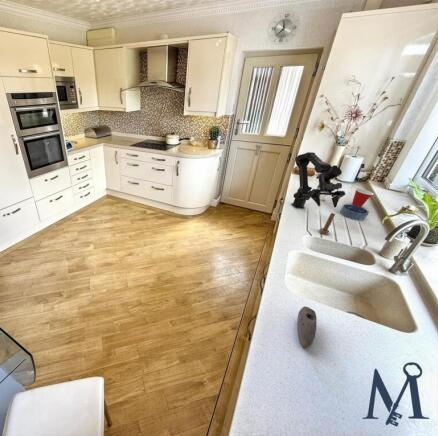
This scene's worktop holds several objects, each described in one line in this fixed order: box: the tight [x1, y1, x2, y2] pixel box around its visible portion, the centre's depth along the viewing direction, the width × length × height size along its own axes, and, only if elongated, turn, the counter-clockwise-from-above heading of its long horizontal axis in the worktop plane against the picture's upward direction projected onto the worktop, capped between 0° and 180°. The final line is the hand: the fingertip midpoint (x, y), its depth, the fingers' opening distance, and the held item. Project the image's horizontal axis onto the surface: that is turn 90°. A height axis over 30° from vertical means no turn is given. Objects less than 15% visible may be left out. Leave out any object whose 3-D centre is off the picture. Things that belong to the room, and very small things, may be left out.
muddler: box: [318, 212, 336, 236], centre depth 136 cm, size 4×4×13 cm
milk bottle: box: [315, 180, 332, 202], centre depth 178 cm, size 8×8×20 cm
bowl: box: [339, 203, 370, 221], centre depth 159 cm, size 14×14×5 cm
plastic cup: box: [351, 187, 375, 207], centre depth 172 cm, size 11×11×12 cm
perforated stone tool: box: [296, 305, 318, 350], centre depth 79 cm, size 15×5×7 cm, turn 147°
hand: (327, 206), depth 139 cm, fingers open, 9 cm apart
